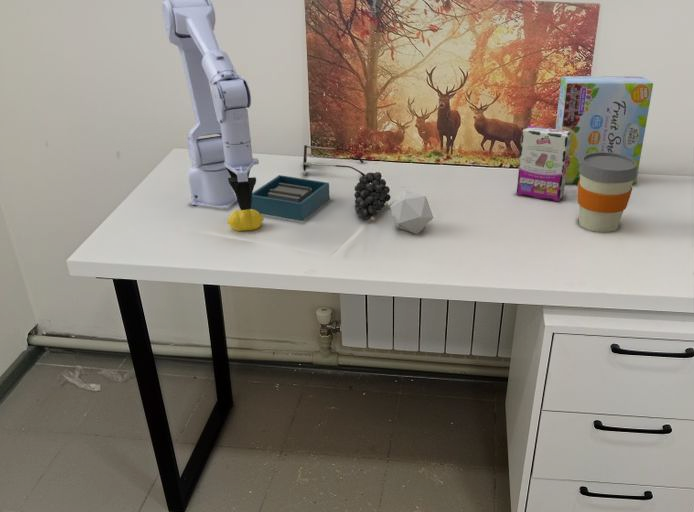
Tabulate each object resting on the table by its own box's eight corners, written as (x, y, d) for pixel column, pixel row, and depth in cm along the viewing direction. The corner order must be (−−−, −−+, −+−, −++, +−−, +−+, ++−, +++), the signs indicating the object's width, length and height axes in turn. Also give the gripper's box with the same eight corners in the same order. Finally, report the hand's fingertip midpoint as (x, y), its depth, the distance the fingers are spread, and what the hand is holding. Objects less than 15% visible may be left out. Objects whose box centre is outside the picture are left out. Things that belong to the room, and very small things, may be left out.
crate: (250, 214, 169) (248, 195, 167) (280, 192, 181) (279, 174, 178) (302, 223, 166) (301, 204, 163) (329, 200, 177) (329, 182, 174)
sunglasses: (304, 161, 200) (304, 143, 197) (362, 164, 202) (363, 146, 199) (303, 179, 188) (303, 160, 186) (365, 182, 191) (366, 163, 188)
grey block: (268, 207, 171) (267, 191, 169) (283, 197, 177) (281, 181, 174) (299, 213, 169) (298, 196, 167) (312, 202, 174) (311, 185, 172)
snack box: (627, 173, 198) (646, 75, 184) (636, 185, 191) (656, 83, 176) (548, 172, 197) (560, 73, 183) (554, 184, 190) (567, 82, 176)
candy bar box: (563, 195, 184) (572, 130, 174) (559, 202, 180) (568, 136, 171) (520, 188, 187) (527, 124, 178) (515, 195, 183) (522, 129, 174)
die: (439, 231, 165) (430, 188, 166) (429, 226, 157) (419, 181, 157) (404, 241, 168) (395, 199, 168) (392, 237, 159) (382, 192, 159)
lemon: (229, 235, 159) (226, 216, 157) (228, 227, 163) (225, 208, 160) (265, 232, 161) (263, 212, 159) (263, 224, 165) (261, 204, 162)
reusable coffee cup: (591, 209, 177) (601, 148, 168) (636, 225, 169) (649, 162, 161) (560, 223, 169) (569, 160, 161) (606, 240, 162) (618, 175, 153)
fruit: (370, 188, 160) (386, 164, 172) (336, 196, 163) (354, 171, 175) (382, 223, 164) (397, 197, 176) (349, 231, 167) (366, 204, 179)
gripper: (260, 150, 146) (266, 213, 154) (252, 128, 158) (258, 188, 165) (223, 152, 144) (232, 216, 152) (219, 130, 156) (226, 191, 163)
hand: (243, 202), depth 158 cm, fingers open, 7 cm apart
